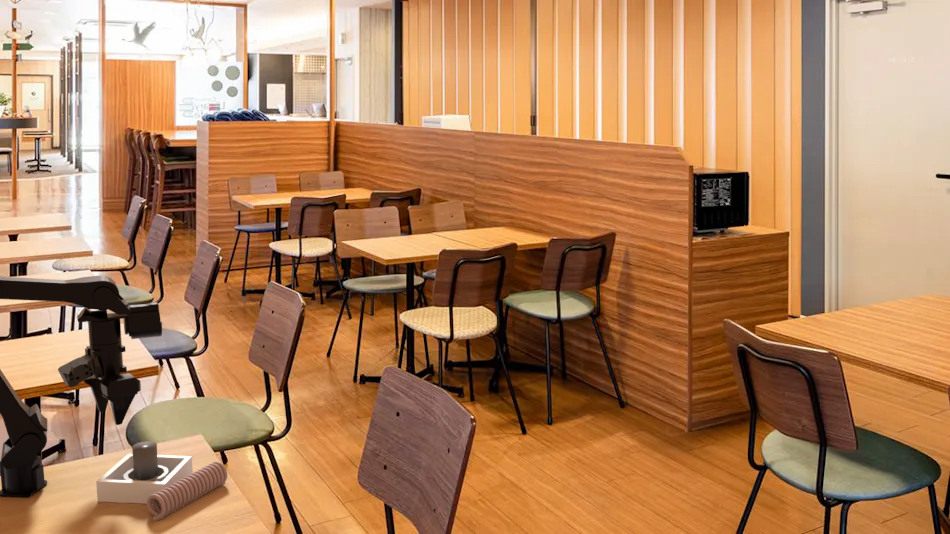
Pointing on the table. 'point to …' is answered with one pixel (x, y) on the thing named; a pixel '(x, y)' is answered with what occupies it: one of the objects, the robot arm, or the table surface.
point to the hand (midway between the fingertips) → (110, 418)
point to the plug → (145, 460)
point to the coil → (186, 490)
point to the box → (128, 490)
